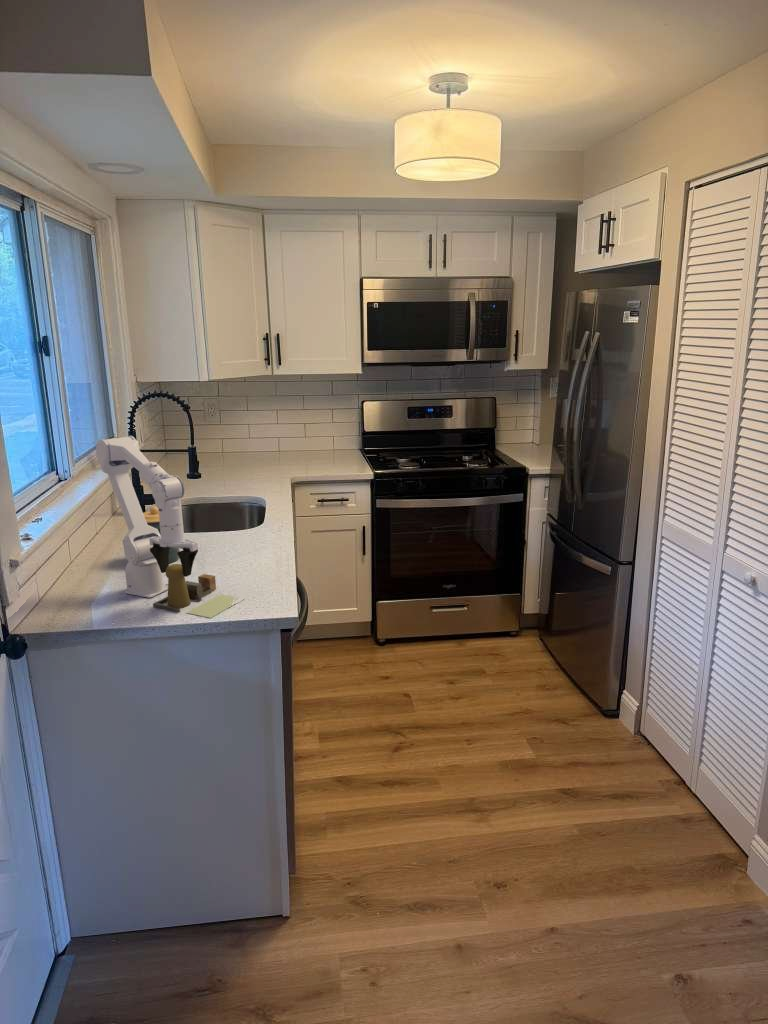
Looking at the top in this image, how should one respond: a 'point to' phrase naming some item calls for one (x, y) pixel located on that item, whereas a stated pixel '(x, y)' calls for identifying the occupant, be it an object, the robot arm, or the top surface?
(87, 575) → the top surface
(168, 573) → the brown pepper mill
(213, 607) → the mat
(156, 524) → the canister
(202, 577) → the key
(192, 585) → the socket
